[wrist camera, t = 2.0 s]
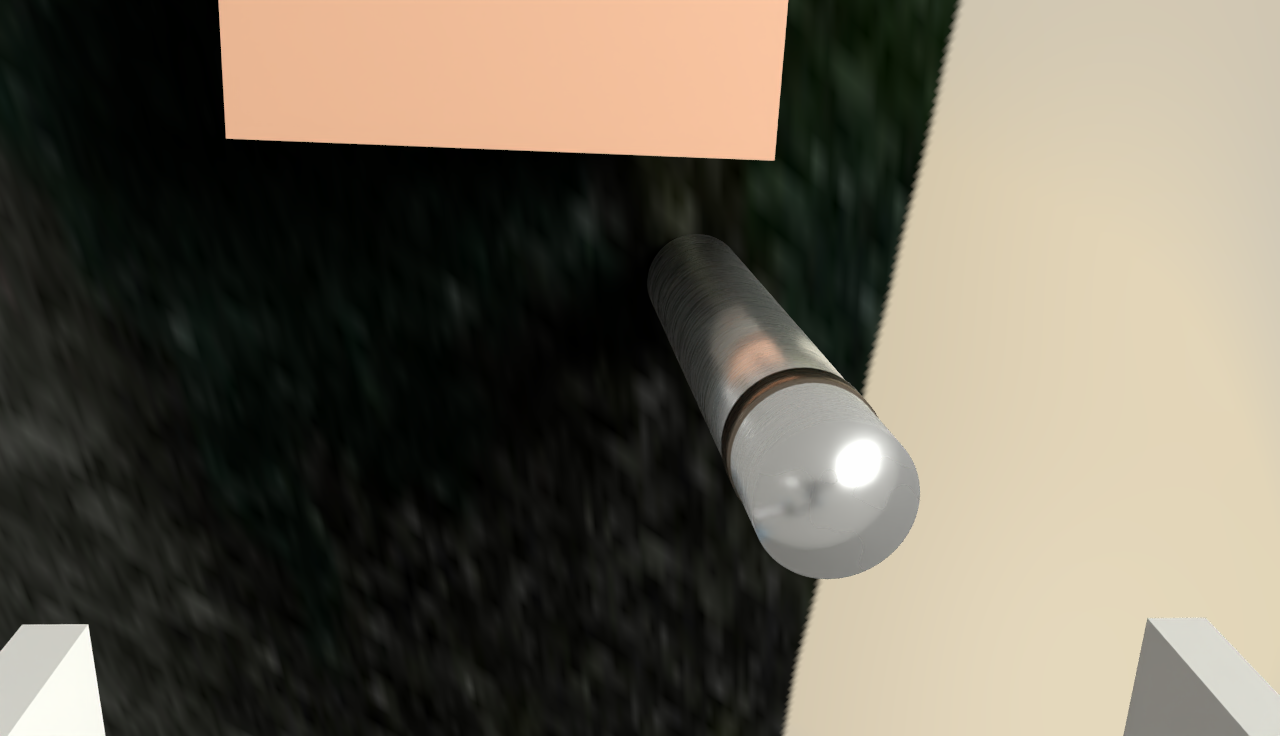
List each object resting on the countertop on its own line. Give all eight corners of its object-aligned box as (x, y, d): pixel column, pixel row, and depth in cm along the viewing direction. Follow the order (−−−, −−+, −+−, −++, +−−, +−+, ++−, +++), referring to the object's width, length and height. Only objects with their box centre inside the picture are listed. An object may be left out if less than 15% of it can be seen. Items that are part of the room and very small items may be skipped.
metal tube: (739, 329, 44) (910, 580, 25) (643, 328, 43) (742, 581, 24) (747, 234, 43) (932, 420, 24) (648, 231, 42) (756, 417, 23)
